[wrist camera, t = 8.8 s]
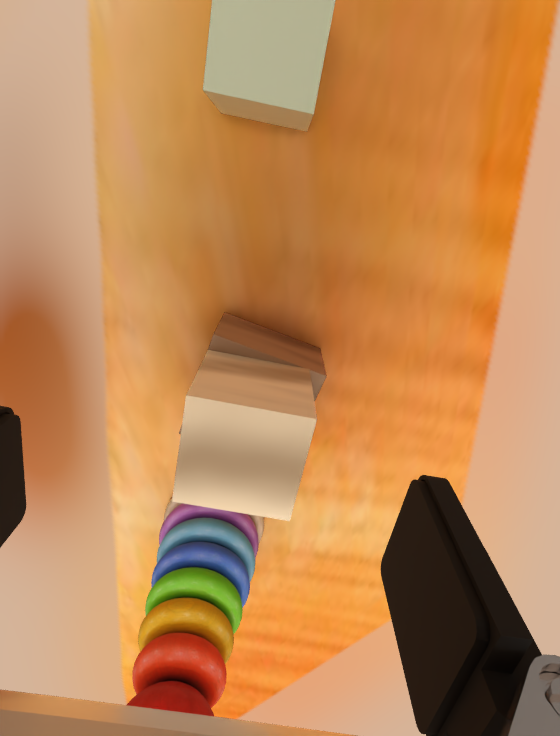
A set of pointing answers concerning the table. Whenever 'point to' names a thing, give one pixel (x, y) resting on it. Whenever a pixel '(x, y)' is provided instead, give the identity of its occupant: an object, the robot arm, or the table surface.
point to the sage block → (267, 58)
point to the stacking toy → (194, 607)
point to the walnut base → (267, 347)
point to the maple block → (245, 436)
